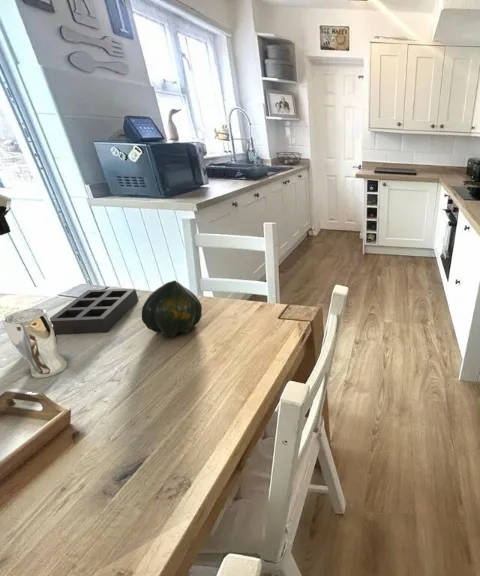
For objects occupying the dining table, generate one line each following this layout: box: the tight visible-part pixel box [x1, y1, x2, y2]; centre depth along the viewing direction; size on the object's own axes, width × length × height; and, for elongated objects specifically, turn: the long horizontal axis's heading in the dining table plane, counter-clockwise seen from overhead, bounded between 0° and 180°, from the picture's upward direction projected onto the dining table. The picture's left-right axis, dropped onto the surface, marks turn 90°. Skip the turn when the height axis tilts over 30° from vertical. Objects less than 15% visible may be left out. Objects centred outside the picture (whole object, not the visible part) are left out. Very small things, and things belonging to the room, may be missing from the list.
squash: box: [141, 280, 203, 338], centre depth 93 cm, size 14×15×15 cm
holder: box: [49, 288, 140, 336], centre depth 97 cm, size 13×19×4 cm
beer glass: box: [2, 307, 68, 379], centre depth 74 cm, size 7×7×15 cm
